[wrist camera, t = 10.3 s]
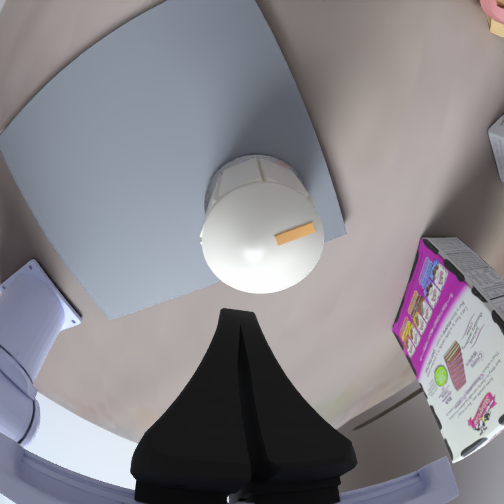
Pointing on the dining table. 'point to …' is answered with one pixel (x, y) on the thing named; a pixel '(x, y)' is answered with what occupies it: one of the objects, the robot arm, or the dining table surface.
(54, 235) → the board
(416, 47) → the dining table surface
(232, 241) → the knob
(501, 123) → the skincare box
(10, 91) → the dining table surface
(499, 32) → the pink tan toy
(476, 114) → the dining table surface
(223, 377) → the robot arm
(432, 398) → the candy bar box
